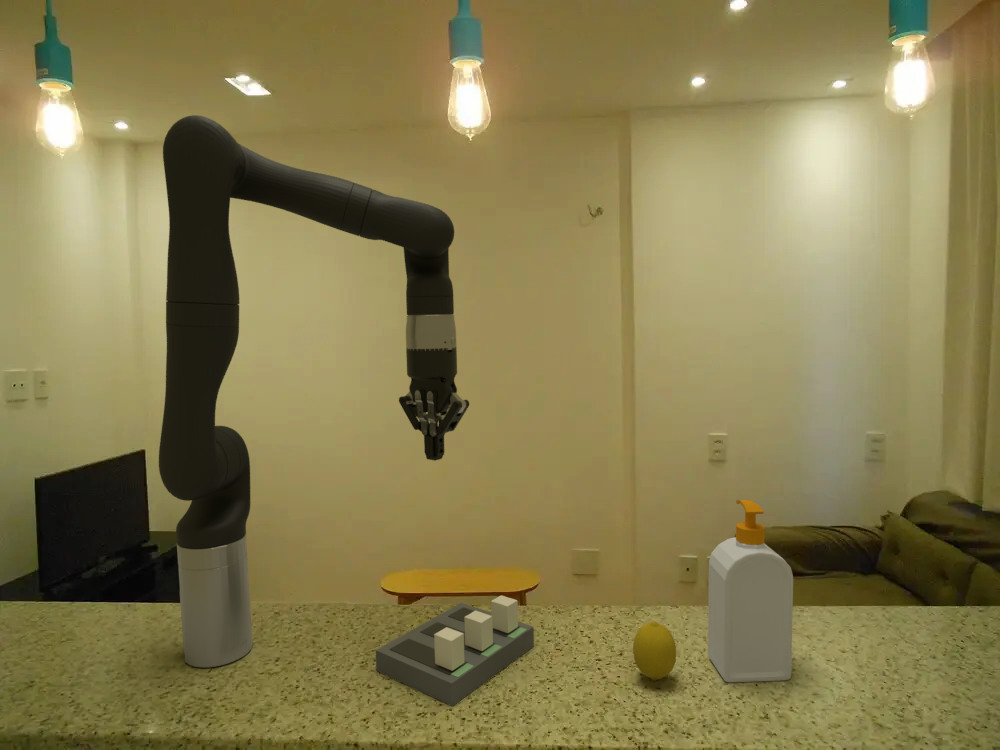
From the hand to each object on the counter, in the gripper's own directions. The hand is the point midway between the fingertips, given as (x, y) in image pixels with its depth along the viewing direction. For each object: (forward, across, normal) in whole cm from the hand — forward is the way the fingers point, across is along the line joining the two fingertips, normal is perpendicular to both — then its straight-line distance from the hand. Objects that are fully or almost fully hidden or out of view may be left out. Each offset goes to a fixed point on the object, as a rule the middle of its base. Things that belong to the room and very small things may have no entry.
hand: (434, 459), depth 99 cm
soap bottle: (+27, +42, +16) cm, 53 cm away
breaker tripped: (+24, +12, -5) cm, 27 cm away
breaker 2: (+24, +12, +1) cm, 27 cm away
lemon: (+27, +33, +6) cm, 43 cm away
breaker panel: (+27, +8, -5) cm, 29 cm away
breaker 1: (+24, +12, -11) cm, 29 cm away
